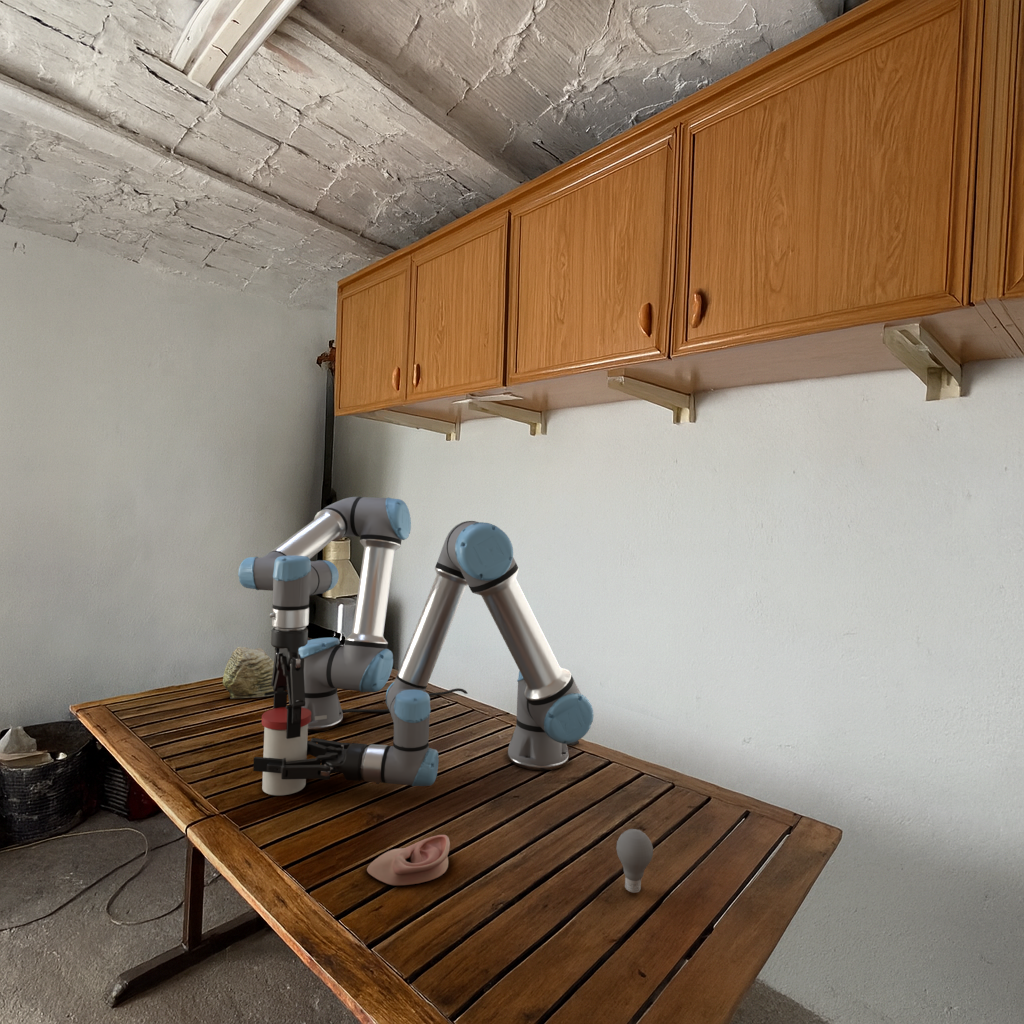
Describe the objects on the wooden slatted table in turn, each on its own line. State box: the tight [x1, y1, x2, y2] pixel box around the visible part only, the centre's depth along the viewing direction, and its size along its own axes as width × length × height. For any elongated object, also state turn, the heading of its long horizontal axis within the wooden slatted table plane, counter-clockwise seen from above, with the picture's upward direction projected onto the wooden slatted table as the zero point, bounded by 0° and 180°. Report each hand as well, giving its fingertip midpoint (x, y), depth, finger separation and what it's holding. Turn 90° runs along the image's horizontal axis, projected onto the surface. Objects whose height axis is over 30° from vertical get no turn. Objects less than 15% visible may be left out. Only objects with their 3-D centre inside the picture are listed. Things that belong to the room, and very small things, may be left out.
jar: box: [261, 724, 309, 796], centre depth 138 cm, size 9×9×15 cm
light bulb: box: [615, 828, 654, 894], centre depth 106 cm, size 6×6×10 cm
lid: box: [261, 707, 311, 730], centre depth 138 cm, size 10×10×2 cm
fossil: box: [222, 646, 286, 699], centre depth 198 cm, size 9×18×15 cm, turn 132°
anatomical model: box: [366, 834, 451, 886], centre depth 109 cm, size 13×4×12 cm
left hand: (286, 728), depth 138 cm, fingers closed on lid, 10 cm apart
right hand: (265, 754), depth 138 cm, fingers closed on jar, 9 cm apart
